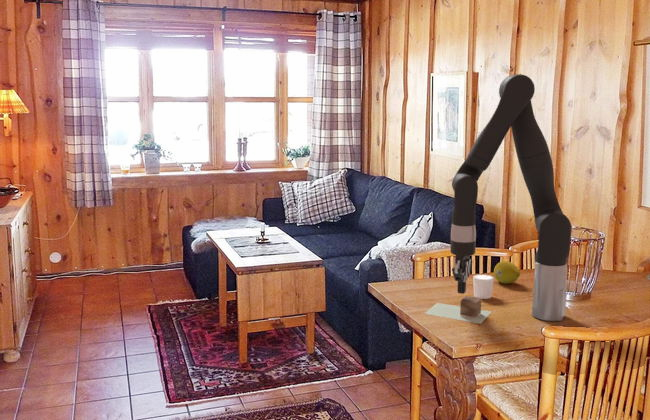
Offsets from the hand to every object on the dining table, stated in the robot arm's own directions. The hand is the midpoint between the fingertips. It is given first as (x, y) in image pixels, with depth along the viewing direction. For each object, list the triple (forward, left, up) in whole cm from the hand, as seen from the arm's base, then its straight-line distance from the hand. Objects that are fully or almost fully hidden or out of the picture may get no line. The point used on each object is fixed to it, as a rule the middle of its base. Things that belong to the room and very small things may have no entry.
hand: (461, 292), depth 210 cm
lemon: (-4, -39, -7) cm, 40 cm away
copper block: (-3, 0, -2) cm, 4 cm away
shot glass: (-1, -20, -7) cm, 21 cm away
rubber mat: (+1, 0, -7) cm, 7 cm away
